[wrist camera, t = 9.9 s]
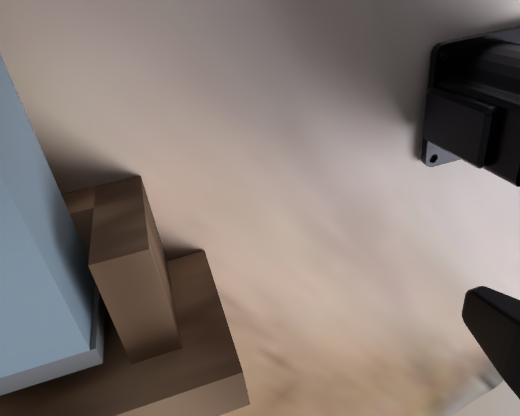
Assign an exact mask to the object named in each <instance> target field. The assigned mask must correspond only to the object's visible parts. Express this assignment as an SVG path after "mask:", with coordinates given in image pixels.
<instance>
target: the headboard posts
mask: <svg viewBox="0 0 520 416" xmlns="http://www.w3.org/2000/svg"><path fill="white" fill-rule="evenodd" d="M62 197H63V200H64V202H65V204H66V206H67V209H68V211H69V213H70V216H71V218H72V220H73V223H74V225H75V227H76V229H77V232H78V234H79V236H80V239H81V241H82V243H83V246H84V248H85V250H86V252H87V255H88V257H89V262H88V267H89V269H90V271H91V273H92V276H93V278H94V280H95V282H96V285H97V287H98V289H99V292H100V294H101V296H102V298H103V301H104V303H105V322H104V351H103V363H102V364H99V365H96V366H93V367H89V368H86V369H83V370H80V371H77V372H74V373H70V374H67V375H64V376H61V377H58V378H55V379H51V380H48V381H45V382H42V383H39V384H36V385H33V386H29V387H26V388H23V389H20V390H17V391H14V392H10V393H7V394H4V395H1V396H0V416H219V415H222V414H225V413H228V412H230V411H233V410H236V409H239V408H242V407H244V406H247V405H250V402H249V397H248V393H247V389H246V384H245V380H244V375H243V371H242V368H241V365H240V362H239V359H238V355H237V352H236V349H235V346H234V343H233V340H232V336H231V333H230V330H229V327H228V324H227V321H226V317H225V314H224V311H223V308H222V305H221V302H220V298H219V295H218V292H217V289H216V286H215V283H214V280H213V276H212V273H211V270H210V267H209V264H208V261H207V257H206V254H205V251H200V252H197V253H193V254H190V255H186V256H182V257H179V258H175V259H172V260H168V261H167V260H166V257H165V253H164V250H163V247H162V244H161V240H160V237H159V234H158V231H157V227H156V224H155V221H154V218H153V214H152V211H151V208H150V205H149V201H148V198H147V195H146V192H145V188H144V185H143V182H142V179H141V176H138V177H134V178H130V179H125V180H121V181H117V182H113V183H108V184H104V185H100V186H96V187H91V188H87V189H83V190H79V191H75V192H70V193H66V194H62Z"/></svg>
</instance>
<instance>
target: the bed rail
mask: <svg viewBox="0 0 520 416" xmlns="http://www.w3.org/2000/svg"><path fill="white" fill-rule="evenodd" d="M88 262H89V257H88V255H87V252H86V250H85V248H84V246H83V243H82V241H81V239H80V236H79V234H78V232H77V229H76V227H75V225H74V223H73V220H72V218H71V216H70V213H69V211H68V209H67V206H66V204H65V202H64V200H63V197H62V195H61V193H60V190H59V188H58V186H57V183H56V181H55V179H54V177H53V174H52V172H51V170H50V167H49V165H48V163H47V160H46V158H45V156H44V154H43V151H42V149H41V147H40V144H39V142H38V140H37V137H36V135H35V133H34V131H33V128H32V126H31V124H30V121H29V119H28V117H27V114H26V112H25V110H24V108H23V105H22V103H21V101H20V98H19V96H18V94H17V91H16V89H15V87H14V84H13V82H12V80H11V78H10V75H9V73H8V71H7V68H6V66H5V64H4V61H3V59H2V57H1V55H0V396H1V395H4V394H7V393H10V392H14V391H17V390H20V389H23V388H26V387H29V386H33V385H36V384H39V383H42V382H45V381H48V380H51V379H55V378H58V377H61V376H64V375H67V374H70V373H74V372H77V371H80V370H83V369H86V368H89V367H93V366H96V365H99V364H102V363H103V351H104V322H105V303H104V301H103V298H102V296H101V294H100V292H99V289H98V287H97V285H96V282H95V280H94V278H93V276H92V273H91V271H90V269H89V267H88Z"/></svg>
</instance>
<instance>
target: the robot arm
mask: <svg viewBox="0 0 520 416" xmlns="http://www.w3.org/2000/svg"><path fill="white" fill-rule="evenodd" d="M443 50H444V55H443V56H442V58H441V52H442V51H443ZM432 155H433V157H432V158H431V159H430V157H431V156H432ZM460 159H462V160H464V161H465V162H467V163H469V164H471V165H473V166H475V167H477V168H484V169H485V170H487V171H489V172H491V173H493V174H495V175H497V176H499V177H500V178H502V179H504V180H506V181H508V182H510V183H512V184H514V185H515V186H517V187H520V26H519V27H514V28H509V29H504V30H499V31H494V32H489V33H484V34H479V35H475V36H470V37H465V38H460V39H455V40H450V41H445V42H441V43H438V44H437V45H436V46H435V47H434V48H433V50H432V52H431V58H430V69H429V80H428V91H427V99H426V109H425V120H424V131H423V145H422V155H421V160H422V162H423V163H424V164H425V165H427V166H429V167H434V166H438V165H441V164H445V163H449V162H453V161H456V160H460ZM462 317H463V320H464V323H465V324H466V326H467V327H468V329H469V330H470V332H471V333H472V335H473V336H474V338H475V339H476V340H477V342H478V343H479V345H480V346H481V348H482V349H483V351H484V352H485V354H486V355H487V357H488V358H489V360H490V361H491V362H492V364H493V365H494V367H495V368H496V370H497V371H498V373H499V374H500V375H501V377H502V378H503V379H504V380H505V382H506V383H507V384H508V386H509V387H510V388H511V389H512V390H513V391H514V393H515V394H516V395H517V396H518V398H519V399H520V300H518V299H515V298H513V297H510V296H508V295H505V294H503V293H500V292H498V291H495V290H493V289H490V288H488V287H484V286H479V287H476V288H473V289H470V290H468V291H467V292H466V294H465V299H464V304H463V310H462Z"/></svg>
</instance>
